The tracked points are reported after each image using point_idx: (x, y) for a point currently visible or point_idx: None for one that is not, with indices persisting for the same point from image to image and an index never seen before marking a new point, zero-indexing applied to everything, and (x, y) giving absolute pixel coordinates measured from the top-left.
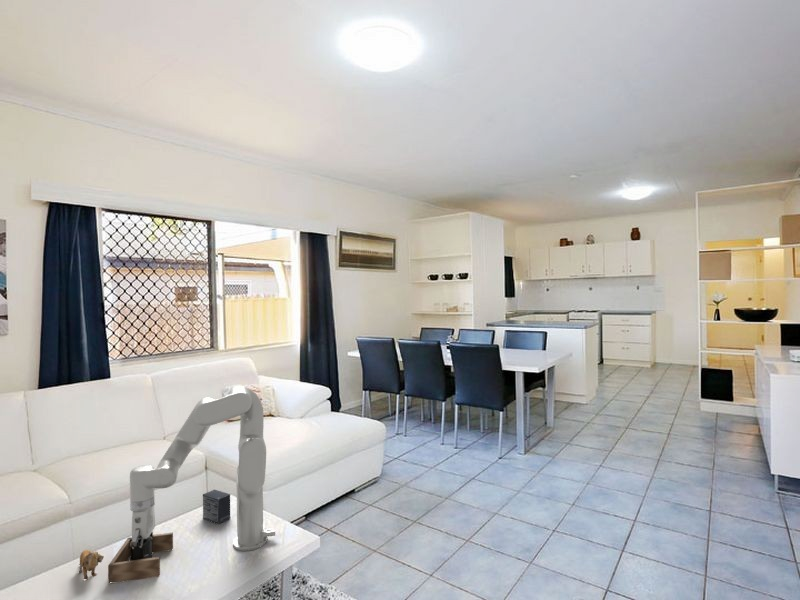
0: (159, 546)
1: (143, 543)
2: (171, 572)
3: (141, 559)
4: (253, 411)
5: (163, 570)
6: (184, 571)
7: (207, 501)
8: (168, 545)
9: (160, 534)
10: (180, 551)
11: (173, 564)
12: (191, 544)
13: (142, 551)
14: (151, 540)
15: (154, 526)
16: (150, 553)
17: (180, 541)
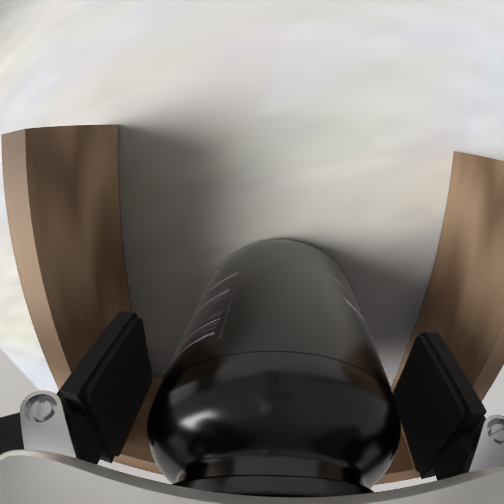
0: (100, 231)
1: (393, 441)
2: (451, 77)
3: (502, 335)
4: None
5: (413, 131)
6: (454, 5)
7: None
8: (95, 156)
9: (24, 263)
10: (156, 52)
11: (352, 64)
12: (87, 15)
13: (463, 379)
14: (306, 375)
15: (55, 483)
16: (322, 285)
17: (31, 110)
